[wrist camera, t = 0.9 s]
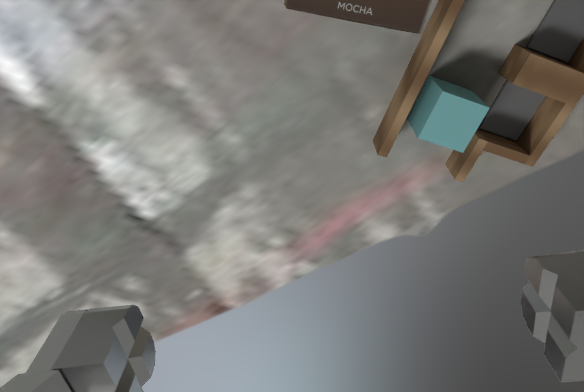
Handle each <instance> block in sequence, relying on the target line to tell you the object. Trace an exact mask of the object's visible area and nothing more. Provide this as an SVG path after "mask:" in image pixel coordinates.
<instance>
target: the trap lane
mask: <svg viewBox="0 0 584 392" xmlns="http://www.w3.org/2000/svg"><path fill="white" fill-rule="evenodd" d="M464 1H465V0H439V1H438V3H437V6H436V8H435V10H434V12H433V14H432V16H431V18H430V20H429V23H428V25H427V27H426V29H425V31H424V33H423V35H422V37H421V40H420V42H419V44H418V46H417V48H416V50H415V52H414V54H413V56H412V59H411V61H410V63H409V65H408V67H407V69H406V71H405V73H404V76H403V78H402V80H401V82H400V84H399V86H398V88H397V90H396V93H395V95H394V97H393V99H392V101H391V103H390V105H389V107H388V109H387V112H386V114H385V116H384V118H383V120H382V122H381V124H380V126H379V129H378V131H377V133H376V135H375V137H374V139H373V143H374V146H375V148H376V151H377V154H378V155H380V156H383V157H386V158H387V156H388V154H389V152H390V150H391V148H392V146H393V144H394V142H395V140H396V138H397V136H398V134H399V132H400V130H401V128H402V126H403V124H404V122H405V120H406V118H407V116H408V114H409V112H410V110H411V108H412V105H413V103H414V101H415V99H416V97H417V95H418V93H419V91H420V89H421V87H422V85H423V83H424V81H425V79H426V77H427V75H428V73H429V71H430V69H431V67H432V65H433V63H434V61H435V59H436V57H437V55H438V53H439V51H440V49H441V47H442V45H443V43H444V41H445V39H446V37H447V35H448V33H449V31H450V29H451V27H452V25H453V23H454V21H455V19H456V17H457V15H458V13H459V11H460V9H461V7H462V5H463V3H464ZM499 74H500V75H502V76H503V77H504V78H506V79H507V80H508V81H510V82H511V83H512V84H515V85H517V86H520V87H523V88H526V89H528V90H531V91H534V92H537V93H539V94H542V95H545V96H546V97H545V98H544V100H543V101H542V103H541V104H540V106H539V108H538V109H537V111H536V112H535V114H534V115H533V117H532V118H531V120H530V121H529V123H528V124H527V126H526V127H525V129H524V131H523V132H522V134H521V135H520V137H519V138H518V140H517V141H516V142H515V141H512V140H509V139H506V138H504V137H501V136H498V135H495V134H492V133H489V132H486V131H483V130H480V129H477V130H476V132H475V134H474V135H473V137H472V139H471V140H470V142H469V144H468V145H467V147H466V149H465V150H464V152H463V153H462V152H459V151H456V150H454V151H453V152H452V154H451V156H450V157H449V159H448V161H447V163H446V166H447V168H448V169H449V171H450V172H451V174H452V176H453V177H454V179H455V180H458V181H462V182H463V181H464V180H465V178H466V176H467V175H468V173H469V172H470V170H471V168H472V167H473V165H474V163H475V162H476V160H477V159H478V157H479V155H480V154H481V152H482V150H484V151H487V152H490V153H493V154H496V155H499V156H502V157H505V158H508V159H511V160H514V161H517V162H520V163H523V164H526V165H529V166H532V167H533V166H534V164H535V163H536V162H537V160H538V159H539V157H540V156H541V154H542V153H543V151H544V150H545V149H546V147H547V146H548V144H549V143H550V141H551V140H552V139H553V137H554V136H555V134H556V133H557V131H558V130H559V128H560V127H561V126H562V124H563V123H564V121H565V120H566V118H567V117H568V115H569V114H570V113H571V111H572V110H573V108H574V107H575V105H576V104H577V102H578V101H579V100H580V98H581V97H582V95H583V94H584V38H583V40H582V42H581V43H580V45H579V46H578V48H577V49H576V51H575V52H574V54H573V55H572V57H571V58H570V60H569V61H568V63H567V64H565V63H562V62H560V61H557V60H554V59H552V58H549V57H547V56H544V55H541V54H539V53H536V52H534V51H531V50H528V49H526V48H523V47H521V46H518V45H514V47H513V49H512V50H511V52H510V54H509V56H508V57H507V59H506V61H505V62H504V64H503V66H502V68H501V69H500V71H499Z"/></svg>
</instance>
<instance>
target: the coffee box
mask: <svg viewBox="0 0 584 392" xmlns="http://www.w3.org/2000/svg"><path fill="white" fill-rule="evenodd" d="M430 3H431V0H285V3H284V5H285V7H286V8H287V9H291V10H296V11H300V12H305V13H311V14H316V15H321V16H327V17H332V18H337V19H342V20H347V21H352V22H358V23H363V24H369V25H374V26H380V27H385V28H390V29H395V30H400V31H406V32H412V33H421V31H422V28H423V25H424V21H425V18H426V15H427V12H428V9H429V6H430Z"/></svg>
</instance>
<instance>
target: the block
mask: <svg viewBox="0 0 584 392" xmlns="http://www.w3.org/2000/svg"><path fill="white" fill-rule="evenodd" d="M489 108H490V107H489V106H488V105H486V104H485V103H484V102H483V101H482V100H481V99H480V98H479V97H478V96H477V95H476V94H475V93H474V92H473V91H471V90H468V89H466V88H463V87H460V86H457V85H454V84H452V83H449V82H446V81H443V80H440V79H438V78H435V77H432V76H429V77H428V79H427V81H426V83H425V85H424V87H423V89H422V91H421V93H420V95H419V97H418V99H417V101H416V103H415V105H414V107H413V109H412V111H411V113H410V115H409V117H408V121H409V123H410V125H411V126H412V128H413V130H414V132H415V134H416V135H417V137H418V138H420V139H423V140H426V141H429V142H432V143H435V144H438V145H441V146H444V147H447V148H450V149H453V150H456V151H459V152H462V153H463V152H464V150H465V149H466V147H467V145H468V144H469V142H470V140H471V139H472V137H473V135H474V134H475V132H476V130H477V129H478V127H479V125H480V123H481V122H482V120H483V118H484V117H485V115H486V113H487V112H488V110H489Z"/></svg>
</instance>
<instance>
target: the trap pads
mask: <svg viewBox="0 0 584 392" xmlns="http://www.w3.org/2000/svg"><path fill="white" fill-rule="evenodd" d="M583 38H584V0H554V1H553V3H552V5H551V6H550V8H549V10H548V11H547V13H546V15H545V16H544V18H543V20H542V21H541V23H540V25H539V27H538V28H537V30H536V32H535V33H534V35H533V37H532V38H531V40H530V42H529V43H528V45H527V47H529V48H532V49H534V50H537V51H539V52H542V53H545V54H547V55H550V56H552V57H555V58H558V59H560V60H563V61H565V62H568V61H569V60H570V58H571V57H572V55H573V54H574V52H575V51H576V49H577V48H578V46H579V44H580V43H581V41H582V40H583ZM545 97H546V96H545V95H542V94H539V93H537V92H534V91H531V90H528V89H526V88H523V87H520V86H517V85H515V84H512V83H511V82H510V81H508V80H506V82H505V84H504V85H503V87H502V89H501V91H500V92H499V94H498V96H497V97H496V99H495V101H494V102H493V104H492V106H491V107H490V109H489V111H488V112H487V114H486V116H485V117H484V119H483V121H482V123H481V124H480V126H479V128H481V129H484V130H487V131H490V132H493V133H495V134H498V135H501V136H504V137H507V138H510V139H513V140H516V141H517V140H518V138H519V137H520V135H521V134H522V132H523V130H524V129H525V127H526V126H527V124H528V123H529V121H530V120H531V118H532V117H533V115H534V114H535V112H536V111H537V109H538V107H539V106H540V104H541V103H542V101H543V100H544V98H545Z"/></svg>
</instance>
